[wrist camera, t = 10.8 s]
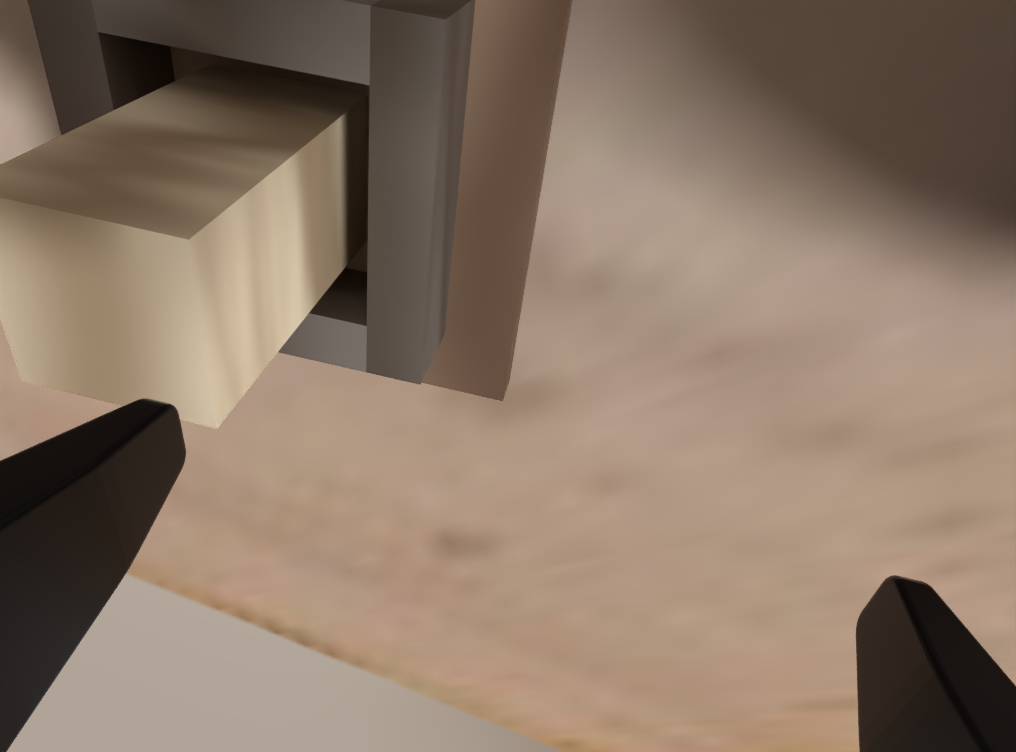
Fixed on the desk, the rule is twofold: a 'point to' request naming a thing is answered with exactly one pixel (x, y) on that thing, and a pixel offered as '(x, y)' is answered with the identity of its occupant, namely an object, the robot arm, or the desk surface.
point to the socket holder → (372, 150)
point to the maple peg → (180, 238)
